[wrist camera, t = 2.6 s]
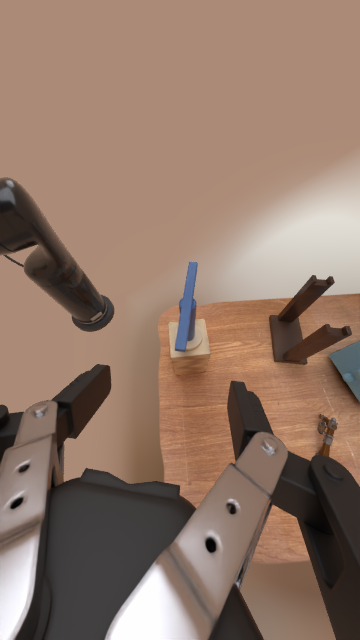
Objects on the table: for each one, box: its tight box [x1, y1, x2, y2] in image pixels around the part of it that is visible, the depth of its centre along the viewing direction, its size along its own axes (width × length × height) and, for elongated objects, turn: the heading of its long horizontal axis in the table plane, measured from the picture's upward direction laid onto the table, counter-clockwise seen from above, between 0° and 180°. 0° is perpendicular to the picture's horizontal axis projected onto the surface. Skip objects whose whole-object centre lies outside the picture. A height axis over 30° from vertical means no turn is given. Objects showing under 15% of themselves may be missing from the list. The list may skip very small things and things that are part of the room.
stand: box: [269, 275, 352, 365], centre depth 39 cm, size 7×12×17 cm, turn 173°
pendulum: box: [174, 262, 203, 352], centre depth 28 cm, size 5×13×12 cm, turn 172°
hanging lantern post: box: [316, 414, 338, 457], centre depth 36 cm, size 2×8×4 cm, turn 162°
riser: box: [168, 319, 211, 375], centre depth 39 cm, size 7×7×14 cm
